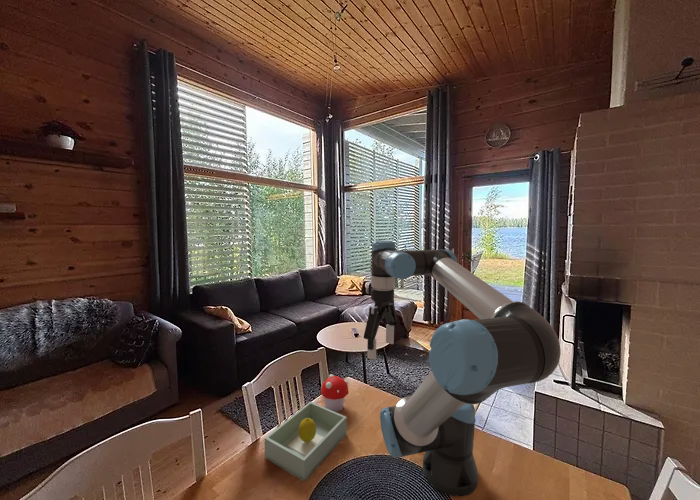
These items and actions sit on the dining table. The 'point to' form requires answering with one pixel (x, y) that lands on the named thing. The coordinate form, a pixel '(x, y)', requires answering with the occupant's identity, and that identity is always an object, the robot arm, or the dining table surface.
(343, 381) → the mushroom
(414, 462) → the dining table surface
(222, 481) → the dining table surface
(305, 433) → the lemon
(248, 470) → the dining table surface
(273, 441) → the crate
